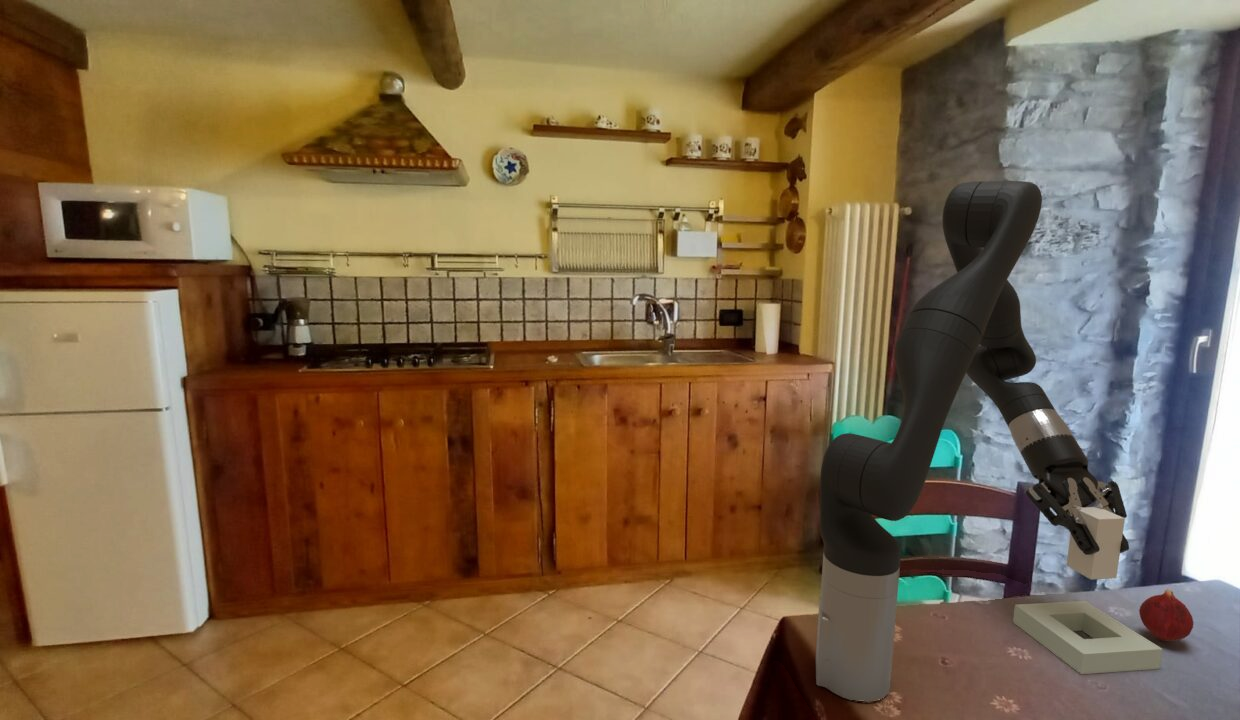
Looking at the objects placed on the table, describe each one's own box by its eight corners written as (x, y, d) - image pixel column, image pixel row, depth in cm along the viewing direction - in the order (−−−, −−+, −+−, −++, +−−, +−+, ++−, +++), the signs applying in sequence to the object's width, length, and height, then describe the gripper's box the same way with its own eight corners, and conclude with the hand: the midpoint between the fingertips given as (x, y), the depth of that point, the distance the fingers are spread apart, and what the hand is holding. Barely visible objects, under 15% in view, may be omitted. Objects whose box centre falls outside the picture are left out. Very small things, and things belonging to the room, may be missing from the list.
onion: (1200, 655, 83) (1208, 604, 82) (1153, 650, 84) (1161, 599, 83) (1170, 631, 89) (1178, 583, 87) (1127, 626, 90) (1134, 578, 89)
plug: (1090, 579, 82) (1098, 519, 80) (1066, 565, 86) (1073, 507, 84) (1116, 578, 82) (1124, 518, 81) (1090, 564, 86) (1098, 506, 85)
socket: (1081, 674, 79) (1083, 654, 78) (1013, 622, 91) (1014, 604, 90) (1159, 668, 80) (1162, 648, 80) (1082, 618, 92) (1084, 600, 91)
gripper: (1019, 433, 88) (1081, 545, 77) (1104, 431, 89) (1175, 541, 79) (990, 456, 94) (1043, 563, 83) (1070, 454, 95) (1132, 558, 85)
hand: (1107, 551), depth 81 cm, fingers closed on plug, 4 cm apart
